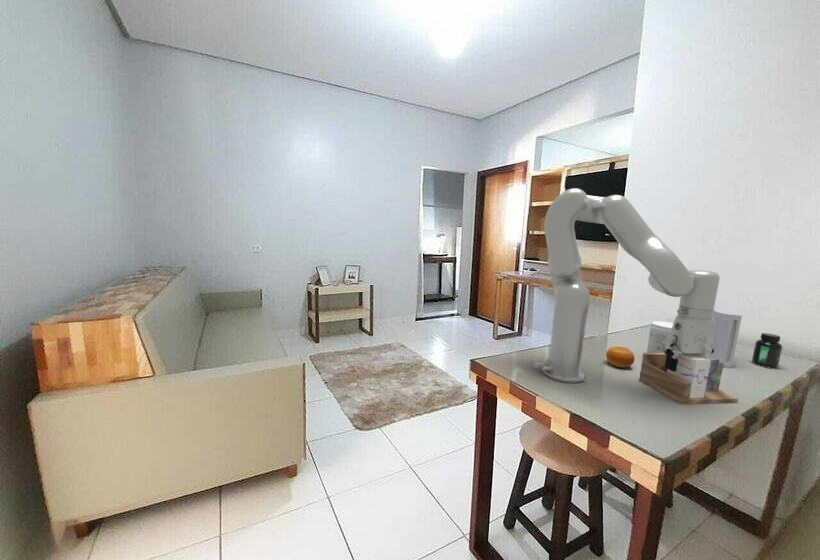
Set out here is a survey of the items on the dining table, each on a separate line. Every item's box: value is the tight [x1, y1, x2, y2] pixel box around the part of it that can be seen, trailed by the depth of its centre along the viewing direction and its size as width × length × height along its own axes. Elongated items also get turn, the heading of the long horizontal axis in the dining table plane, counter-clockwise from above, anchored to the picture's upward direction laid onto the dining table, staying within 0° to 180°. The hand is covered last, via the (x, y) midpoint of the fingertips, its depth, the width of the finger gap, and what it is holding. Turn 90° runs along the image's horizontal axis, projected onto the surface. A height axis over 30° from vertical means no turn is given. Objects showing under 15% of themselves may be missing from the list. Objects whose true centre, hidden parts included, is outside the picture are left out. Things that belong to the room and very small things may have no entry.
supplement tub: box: [646, 320, 674, 353], centre depth 122 cm, size 10×10×15 cm
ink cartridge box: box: [667, 348, 712, 398], centre depth 96 cm, size 9×5×15 cm, turn 5°
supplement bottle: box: [751, 332, 783, 369], centre depth 123 cm, size 7×7×12 cm
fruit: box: [605, 346, 635, 368], centre depth 118 cm, size 8×8×8 cm
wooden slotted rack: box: [639, 352, 739, 405], centre depth 100 cm, size 18×15×11 cm
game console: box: [711, 304, 743, 368], centre depth 132 cm, size 6×27×20 cm, turn 157°
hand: (684, 369), depth 96 cm, fingers open, 9 cm apart
